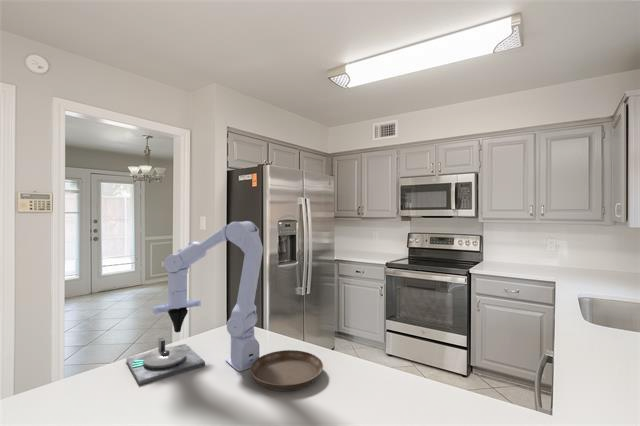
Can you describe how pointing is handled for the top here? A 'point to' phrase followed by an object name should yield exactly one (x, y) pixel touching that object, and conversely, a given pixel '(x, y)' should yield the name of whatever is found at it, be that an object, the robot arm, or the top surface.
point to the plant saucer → (286, 369)
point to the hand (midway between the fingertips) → (177, 331)
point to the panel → (152, 374)
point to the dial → (164, 356)
